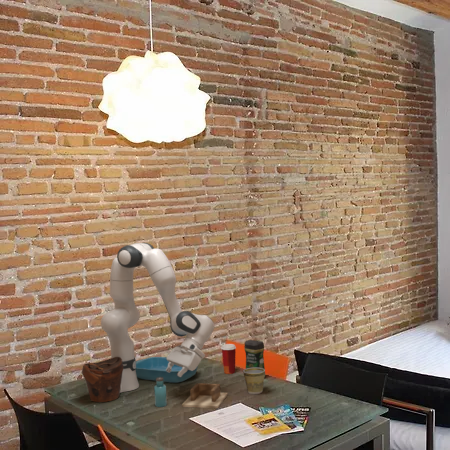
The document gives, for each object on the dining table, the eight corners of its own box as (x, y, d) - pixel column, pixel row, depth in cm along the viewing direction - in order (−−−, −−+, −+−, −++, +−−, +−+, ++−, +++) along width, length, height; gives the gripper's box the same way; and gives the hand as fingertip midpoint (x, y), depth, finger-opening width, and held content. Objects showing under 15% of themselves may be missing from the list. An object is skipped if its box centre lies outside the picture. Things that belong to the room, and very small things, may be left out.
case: (74, 402, 278) (72, 363, 277) (102, 389, 296) (101, 352, 295) (105, 407, 270) (103, 367, 269) (132, 394, 287) (131, 356, 287)
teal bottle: (153, 406, 268) (152, 379, 267) (157, 403, 272) (156, 376, 272) (164, 407, 266) (163, 380, 266) (168, 403, 271) (166, 376, 271)
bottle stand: (181, 406, 266) (181, 393, 266) (194, 393, 283) (193, 380, 283) (217, 408, 262) (216, 394, 262) (227, 394, 279) (227, 381, 279)
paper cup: (237, 370, 319) (236, 343, 318) (236, 374, 311) (235, 347, 310) (222, 370, 319) (221, 343, 319) (221, 374, 312) (219, 347, 311)
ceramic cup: (257, 396, 275) (256, 374, 274) (239, 393, 281) (238, 371, 280) (273, 388, 285) (272, 367, 285) (255, 385, 291) (254, 364, 291)
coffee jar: (242, 378, 304) (241, 341, 303) (252, 374, 310) (250, 337, 310) (259, 381, 298) (257, 343, 297) (268, 376, 304) (266, 339, 304)
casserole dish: (123, 379, 313) (122, 365, 313) (149, 367, 332) (148, 354, 332) (183, 387, 295) (183, 372, 295) (207, 374, 314) (207, 360, 314)
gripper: (174, 340, 285) (156, 365, 280) (198, 347, 268) (180, 374, 263) (182, 348, 288) (165, 373, 283) (207, 356, 271) (189, 382, 266)
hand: (172, 373), depth 273 cm, fingers open, 8 cm apart
